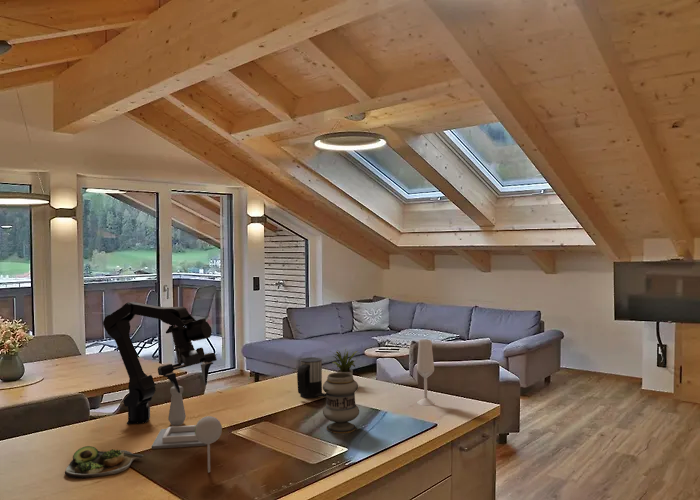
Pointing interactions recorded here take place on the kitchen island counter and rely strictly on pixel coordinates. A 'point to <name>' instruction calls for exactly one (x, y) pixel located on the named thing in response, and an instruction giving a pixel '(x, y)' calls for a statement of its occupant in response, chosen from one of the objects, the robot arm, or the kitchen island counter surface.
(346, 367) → the house plant
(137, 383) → the robot arm
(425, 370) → the champagne flute
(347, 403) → the apothecary jar
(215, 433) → the lollipop
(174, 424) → the salt shaker
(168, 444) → the socket board
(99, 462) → the salad plate
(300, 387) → the milk frother
